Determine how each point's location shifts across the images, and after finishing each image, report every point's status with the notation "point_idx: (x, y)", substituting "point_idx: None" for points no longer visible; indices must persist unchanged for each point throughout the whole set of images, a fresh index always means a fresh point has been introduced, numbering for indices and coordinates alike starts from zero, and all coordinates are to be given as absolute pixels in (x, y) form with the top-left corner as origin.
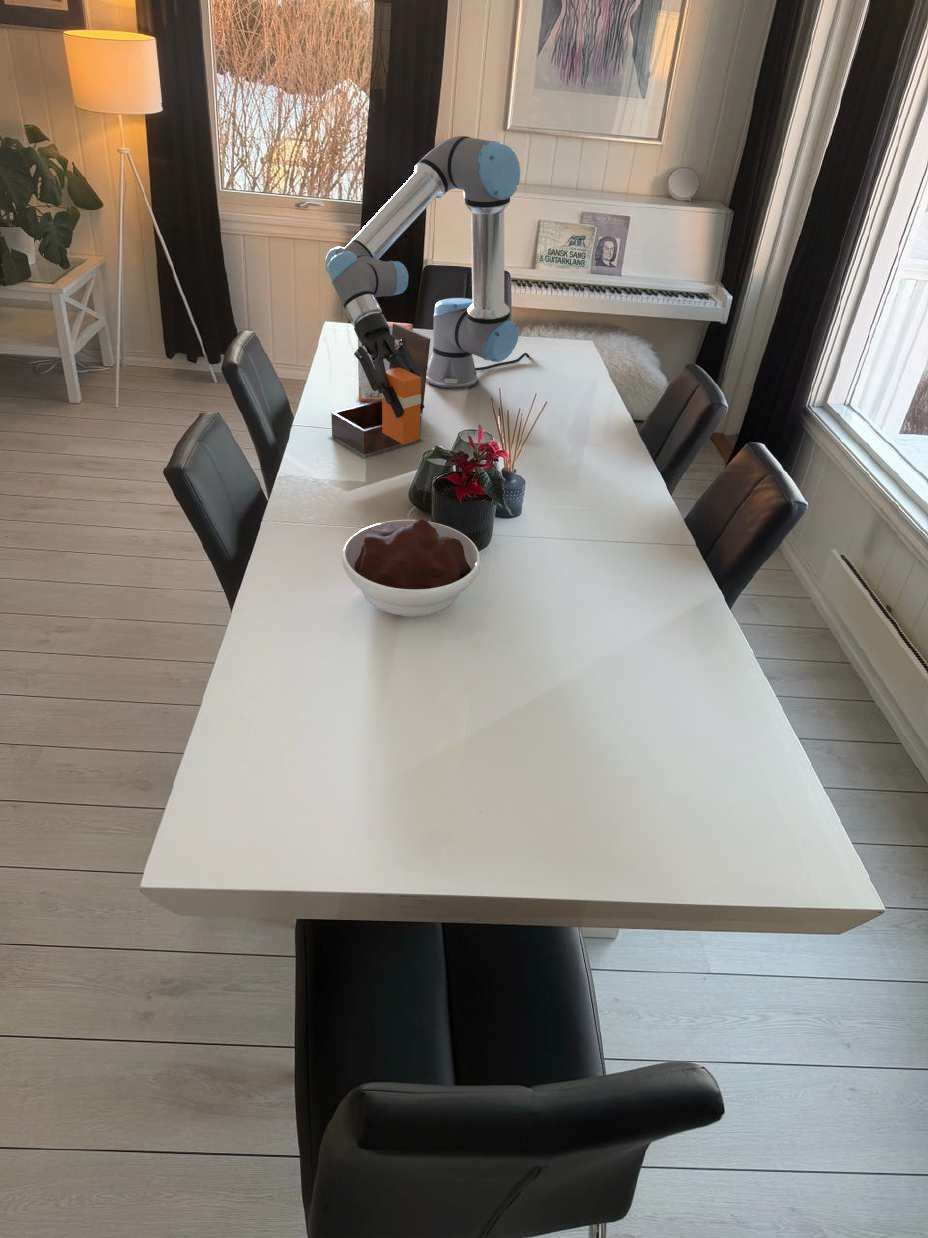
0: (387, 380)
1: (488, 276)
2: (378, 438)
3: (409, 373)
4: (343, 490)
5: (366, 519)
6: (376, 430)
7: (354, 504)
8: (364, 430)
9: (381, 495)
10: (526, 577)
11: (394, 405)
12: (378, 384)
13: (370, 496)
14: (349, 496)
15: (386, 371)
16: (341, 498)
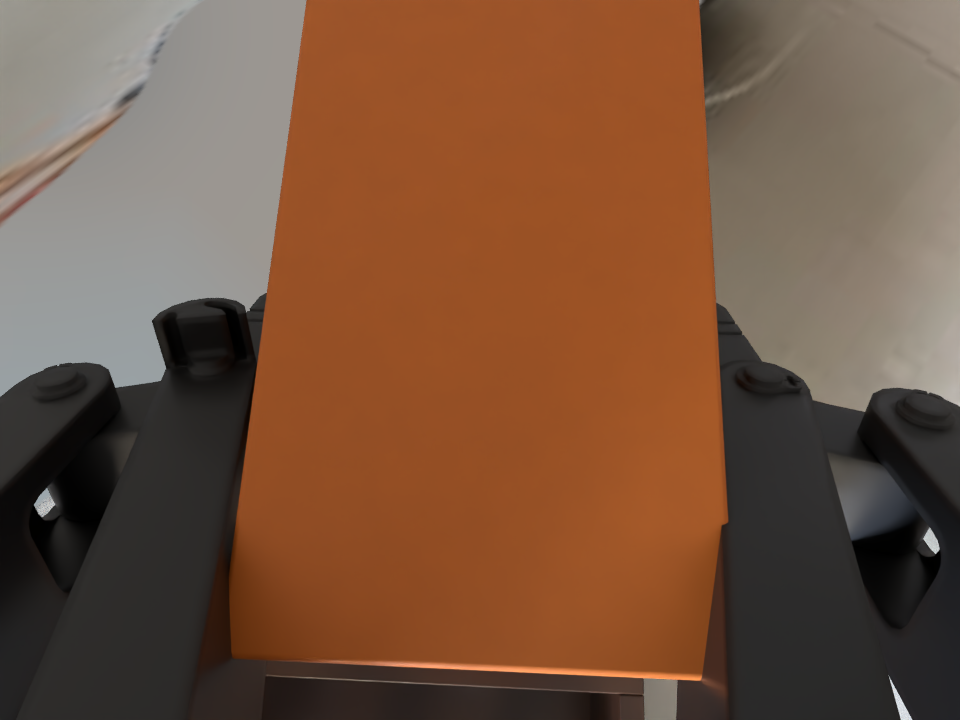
0: (723, 421)
1: None
2: None
3: (336, 221)
4: (897, 387)
5: (935, 134)
6: None
7: (917, 255)
8: (630, 679)
9: (767, 251)
10: None
11: None
12: (935, 401)
13: (815, 271)
14: (901, 324)
15: (665, 590)
16: (944, 330)
